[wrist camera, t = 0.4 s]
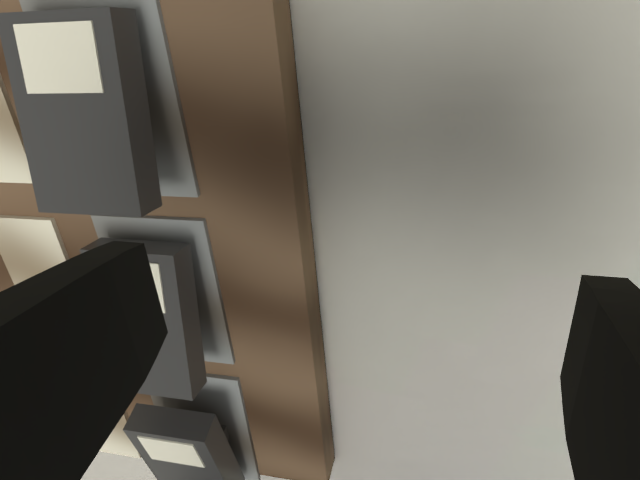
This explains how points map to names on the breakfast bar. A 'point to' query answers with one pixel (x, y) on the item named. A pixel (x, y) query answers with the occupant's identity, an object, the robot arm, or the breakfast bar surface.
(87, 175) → the switch
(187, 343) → the switch mid
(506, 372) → the breakfast bar surface
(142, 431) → the switch
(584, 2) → the breakfast bar surface
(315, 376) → the switch panel
